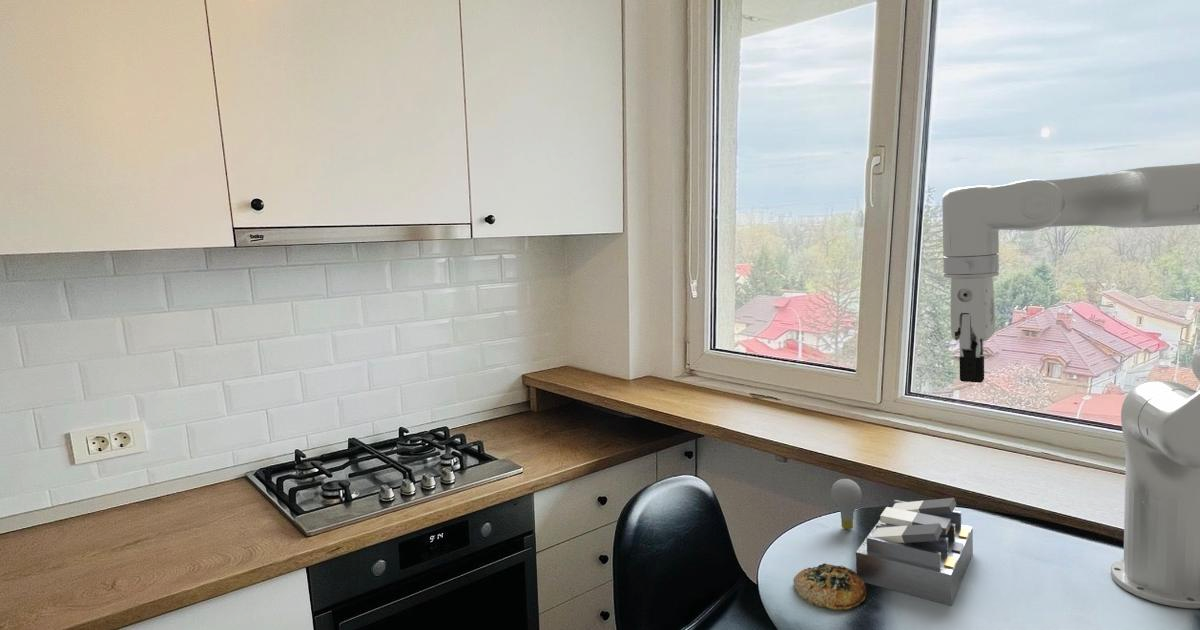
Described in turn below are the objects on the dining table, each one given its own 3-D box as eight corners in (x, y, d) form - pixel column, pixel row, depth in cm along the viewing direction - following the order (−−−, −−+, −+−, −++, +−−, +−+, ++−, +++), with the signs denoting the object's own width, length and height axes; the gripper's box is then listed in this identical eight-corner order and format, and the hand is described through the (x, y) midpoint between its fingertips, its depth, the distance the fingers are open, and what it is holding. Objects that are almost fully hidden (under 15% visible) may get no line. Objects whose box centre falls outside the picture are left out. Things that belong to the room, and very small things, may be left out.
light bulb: (865, 536, 121) (863, 485, 120) (834, 535, 122) (832, 485, 121) (859, 523, 126) (858, 474, 125) (830, 522, 127) (828, 474, 126)
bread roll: (862, 575, 108) (860, 549, 107) (871, 623, 98) (869, 595, 97) (793, 573, 111) (790, 548, 110) (794, 619, 101) (792, 592, 100)
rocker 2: (950, 526, 107) (950, 518, 107) (945, 536, 104) (945, 528, 104) (887, 514, 113) (886, 506, 113) (880, 522, 110) (880, 515, 110)
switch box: (972, 554, 112) (972, 512, 111) (951, 605, 98) (950, 558, 97) (887, 535, 121) (886, 496, 120) (856, 580, 107) (855, 537, 106)
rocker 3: (942, 531, 102) (939, 523, 102) (937, 541, 99) (934, 533, 99) (880, 535, 109) (877, 527, 109) (873, 545, 106) (870, 537, 106)
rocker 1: (956, 505, 111) (954, 497, 111) (952, 514, 108) (949, 506, 108) (897, 510, 117) (895, 503, 117) (891, 518, 114) (889, 511, 114)
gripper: (990, 270, 93) (991, 394, 95) (1005, 261, 104) (1006, 372, 107) (933, 272, 98) (935, 390, 100) (953, 263, 109) (955, 369, 111)
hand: (972, 380), depth 103 cm, fingers closed
